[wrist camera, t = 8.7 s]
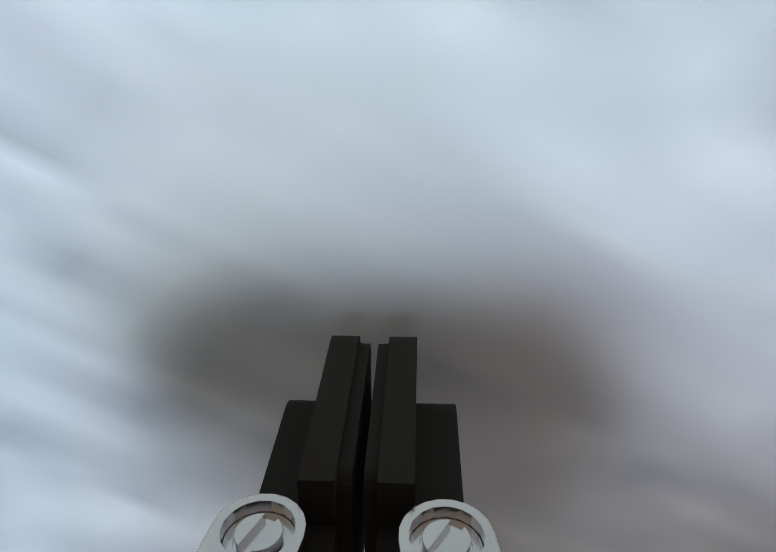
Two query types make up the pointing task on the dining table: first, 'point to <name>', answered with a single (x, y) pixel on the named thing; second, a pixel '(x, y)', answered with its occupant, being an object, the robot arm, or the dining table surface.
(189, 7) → the dining table surface
